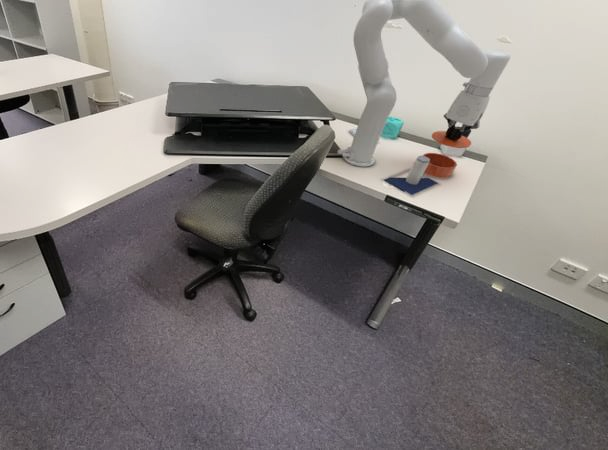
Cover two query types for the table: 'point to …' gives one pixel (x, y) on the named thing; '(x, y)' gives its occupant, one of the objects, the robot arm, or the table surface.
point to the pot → (442, 161)
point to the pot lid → (451, 139)
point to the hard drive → (353, 131)
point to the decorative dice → (392, 127)
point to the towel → (408, 187)
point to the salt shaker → (417, 170)
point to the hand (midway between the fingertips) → (451, 138)
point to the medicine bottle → (453, 150)
